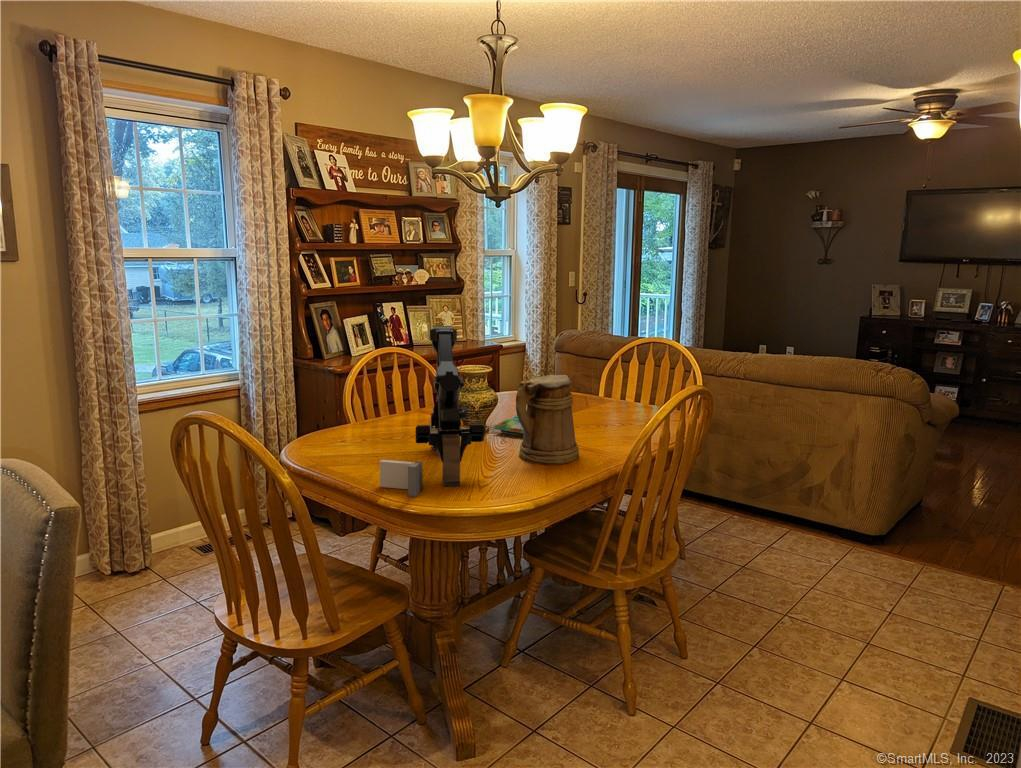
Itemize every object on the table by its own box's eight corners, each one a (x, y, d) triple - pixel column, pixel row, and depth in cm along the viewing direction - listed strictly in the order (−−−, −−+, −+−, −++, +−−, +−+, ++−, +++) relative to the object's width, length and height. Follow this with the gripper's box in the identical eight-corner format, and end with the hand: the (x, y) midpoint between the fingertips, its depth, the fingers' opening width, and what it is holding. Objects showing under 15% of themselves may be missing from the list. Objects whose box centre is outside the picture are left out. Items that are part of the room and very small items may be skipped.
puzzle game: (550, 415, 252) (525, 427, 235) (550, 428, 253) (524, 440, 236) (521, 411, 257) (494, 422, 240) (521, 423, 258) (494, 436, 241)
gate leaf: (423, 488, 186) (423, 462, 185) (421, 490, 184) (420, 464, 183) (382, 484, 189) (382, 458, 187) (379, 487, 187) (379, 460, 185)
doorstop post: (442, 480, 193) (442, 434, 190) (458, 480, 193) (459, 434, 191) (443, 486, 188) (443, 439, 186) (460, 485, 189) (460, 438, 186)
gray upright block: (415, 497, 180) (415, 467, 179) (408, 496, 181) (407, 466, 179) (419, 493, 183) (419, 463, 182) (412, 492, 184) (411, 462, 182)
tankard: (590, 456, 218) (593, 377, 213) (540, 473, 201) (542, 387, 196) (546, 444, 230) (548, 369, 225) (495, 459, 213) (496, 378, 209)
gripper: (415, 396, 189) (416, 447, 180) (484, 395, 191) (489, 445, 183) (415, 417, 198) (416, 467, 189) (481, 416, 201) (485, 465, 192)
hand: (451, 461), depth 188 cm, fingers closed on doorstop post, 4 cm apart
